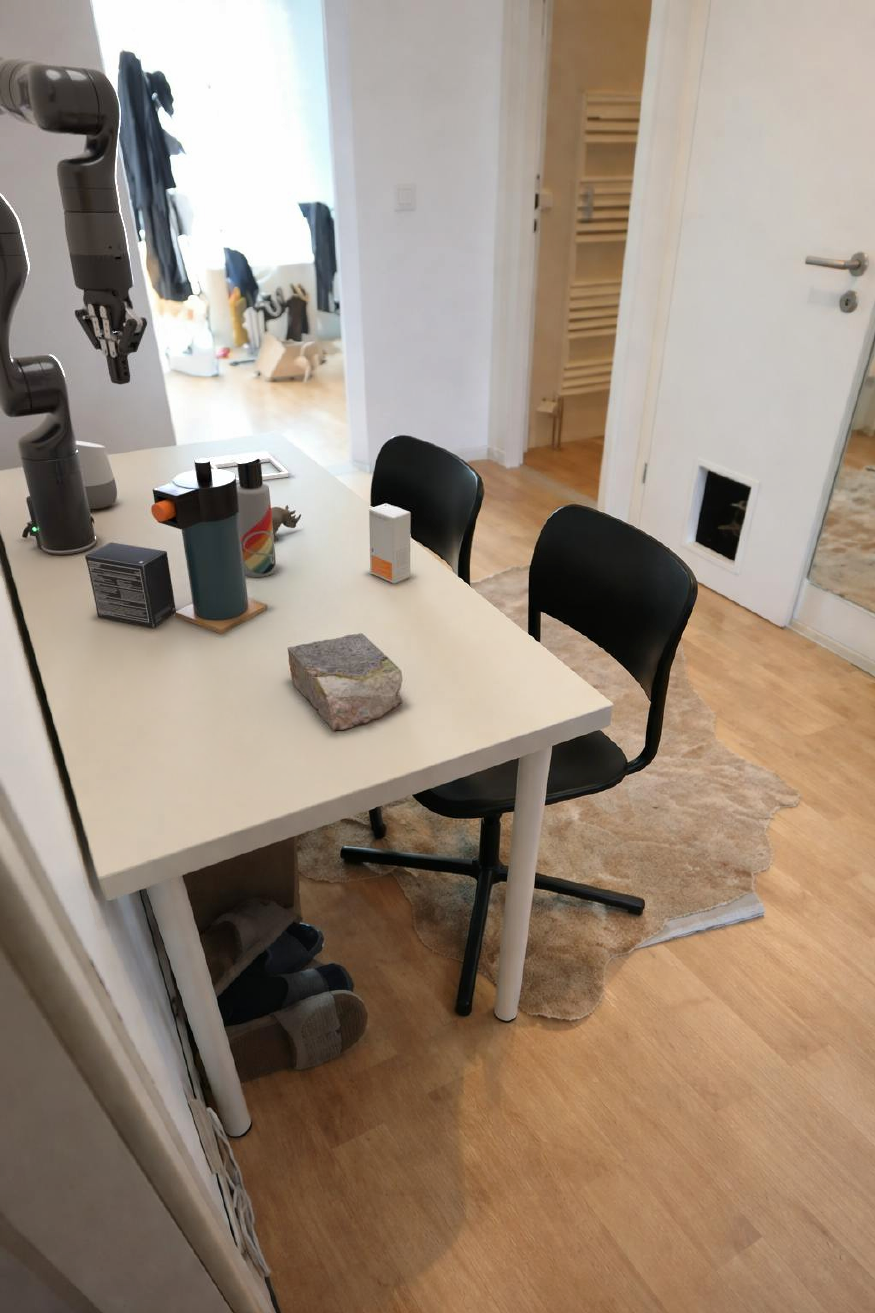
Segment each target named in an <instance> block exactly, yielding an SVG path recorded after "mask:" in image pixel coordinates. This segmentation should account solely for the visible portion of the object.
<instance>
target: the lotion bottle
mask: <svg viewBox="0 0 875 1313" xmlns="http://www.w3.org/2000/svg"><path fill="white" fill-rule="evenodd" d="M262 475H263V470H262V463H261V460H260V459H259V458H258V457H246V458H243V459H241V460H239V461H238V462H237V476H238V478H239V483H238V484H237V492H238V502H239V512H238V514H239V523H240V532H241V541H242V550H243V559H244V568H245V576H248V577H251V578H265V577H268V576H271V575H273V574H274V573H275V572H276V570H277V561H276V559H277V558H276V548H275V541H274V536H273V525H272V514H271V508H272V504H271V495H270V494H271V493H270V487H269V485H268V484H266V483H264V482H263V481H264V480H262Z"/></svg>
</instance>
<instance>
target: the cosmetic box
mask: <svg viewBox="0 0 875 1313" xmlns="http://www.w3.org/2000/svg"><path fill="white" fill-rule="evenodd" d="M411 514H412V513H411V512H410V511H408V510H406V509H403V508H401V507H399V506H395V505H391V504H389V503H387V502H386V503H383V504H380V505H376V506H374V507H371V508H369V509H368V521H369V522H368V523H369V524H368V526H369V571H370V574H371V575H374V576H376V577H377V578H380V579H383V580H385V581H387V582H389V583H391V584H393V585H395V584H396V583H397V584H398V583H400V582H401V581H404V580H406V579H409V578H410V577H411V518H412V516H411Z"/></svg>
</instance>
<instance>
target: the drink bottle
mask: <svg viewBox="0 0 875 1313" xmlns="http://www.w3.org/2000/svg"><path fill="white" fill-rule="evenodd" d="M193 463H194V470H188V471H185V472H181V473H179V474H177V475H175V476H174V477H173V479H172V482H169V483H166V484H164V485H161V486H159V487H154V488H152V494H153V495H152V496H153V502H154V504H155V503H158V502H161V501H163V500H166V499H170V500H174V506H175V512H176V517H173V518H171V519H168V520H165V521H163V522H159V521H157V523H159V524H162V525H165V526H169V527H172V528H174V529H178V530H181V535H182V541H183V549H184V555H185V562H186V570H187V574H188V575H187V576H188V582H189V588H190V597H191V602H192V603H193V610H194V613H195V614H196V615H197V616H198V617H200V618H202V619H206V620H227V619H232V618H235V617H238V616H240V615H242V614H243V613H245V612H246V611H247V609H248V606H249V604H248V598H249V597H248V587H247V578H246V574H245V568H244V559H243V550H242V541H241V532H240V523H239V514H238V512H239V502H238V492H237V485H238V483H236V478H237V476H236V474H235V473H233V472H232V471H228V470H225V469H220V468H217V469H211V463H210V459H206V458H205V457H204V458H203V457H201V458H197V459H195V460H194V462H193ZM192 603H191V604H192Z"/></svg>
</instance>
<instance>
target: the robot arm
mask: <svg viewBox="0 0 875 1313" xmlns="http://www.w3.org/2000/svg"><path fill="white" fill-rule="evenodd" d="M4 115H7V116H8V117H10V118H11V119H13V120H16V121H19V122H21V123H25V124H28V125H32V126H36V127H37V128H38V129H39V130H40V131H43V132H46V133H48V134H55V135H68V136H69V135H70V136H72V135H73V136H85V140H84V145H83V150H82V151H81V153H79V154H77V155H74V156H70V157H66V158H63V159H61V160H59V161H58V163H57V165H56V176H57V182H58V188H59V193H60V198H61V204H62V210H63V217H64V230H65V231H64V232H65V237H66V243H67V247H68V252H69V259H70V264H71V270H72V275H73V281H74V285H75V287H76V288H77V289H79V290H81V291H83V295H82V302H83V306H82V308H80V309H75V310H74V316H75V318H76V320H77V321H78V323H79V324H80V326H81V328H82V329H83V331H84V333H85V335H86V336H87V338H88V340H89V341H90V343H91V345H92V346H93V348H94V349H95V350H96V351H97V350H100V351H101V353H102V355H104V356H105V358H106V363H107V370H108V374H109V375H108V376H109V378H110V382H111V383H112V384H116V385H125V384H129V383H130V382H131V372H130V366H129V359H128V356H130V354H133V353H137V352H138V350H139V347H140V344H141V342H142V339H143V336H144V334H145V331H146V329H147V326H148V320H147V318H145V316H138V315H137V313H136V312H135V311H134V304H133V301H132V299H131V296H130V293H129V291H130V289H132V288H133V287H134V282H135V281H134V277H133V271H132V270H133V269H132V264H131V256H130V251H129V250H130V249H129V243H128V237H127V232H126V231H127V230H126V227H125V222H124V220H123V216H122V212H121V204H120V197H119V191H118V184H117V162H118V160H117V159H118V145H119V136H120V135H119V134H120V127H121V104H120V99H119V96H118V93H117V90H116V88H115V87H114V84H113V83H112V82H111V80H110V79H109V77H108V76H107V75H106V74H104V72H102V71H100V70H98V69H95V68H88V67H79V66H78V67H77V66H68V65H67V66H65V65H55V64H46V63H42V62H39V61H35V60H29V59H23V58H22V59H21V58H5V57H3V56H1V55H0V116H4ZM11 206H12V205H10V204H9V202H8V201H7V200H6V198H5V197H4V195H2V194H1V193H0V410H1V412H2V413H3V414H4V416H7V417H8V418H24V417H30V416H36V415H38V416H39V415H44V414H45V416H44V419H43V420H42V421H41V422H40V423H39V424H38V425H36V426H35V427H34V428H32V429H31V430H29V431H27V432H26V433H24V434H22V435H21V436H20V437H19V438H18V440H17V450H18V453H19V457H20V462H21V466H22V470H23V473H24V478H25V482H26V486H27V490H28V495H27V497H26V499H25V502H26V504H27V510H28V513H29V517H30V520H29V521H28V522H26V525H27V526H26V527H25V528H24V529H23V531H22V535H21V537H22V538H23V539H27V538H28V537H29V536H30V537H34V538H35V541H36V545H37V548H38V549H41V550H42V552H44V553H46V554H49V555H55V556H56V555H57V556H58V555H59V556H61V555H62V556H64V555H66V556H67V555H74V554H78V553H82V552H84V551H88V550H90V549H92V548H93V547H94V546H96V545H97V542H98V541H97V540H98V539H97V537H96V533H95V528H94V524H95V519H94V517H93V516H92V515H91V514H92V513H91V511H90V508H89V503H88V499H87V494H86V489H85V484H84V479H83V474H82V469H81V465H80V460H79V455H78V451H77V446H76V441H77V439H76V434H75V432H76V431H75V427H74V421H73V417H72V416H73V415H72V410H71V402H70V396H69V389H68V383H67V380H66V375H65V372H64V369H63V367H62V365H61V362H60V361H59V360H58V359H57V358H56V357H55V356H54V355H52V354H37V355H36V354H34V355H25V356H14V357H12V355H11V354H12V353H11V331H12V330H11V329H12V324H13V319H14V316H15V313H16V311H17V307H18V305H19V303H20V300H21V297H22V295H23V292H24V290H25V287H26V285H27V281H28V277H29V272H30V261H29V257H28V251H27V247H26V243H25V238H24V234H23V229H22V225H21V222H20V220H19V218H18V216H17V213H15V211H14V209H13V208H12V207H11ZM28 535H29V536H28Z"/></svg>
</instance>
